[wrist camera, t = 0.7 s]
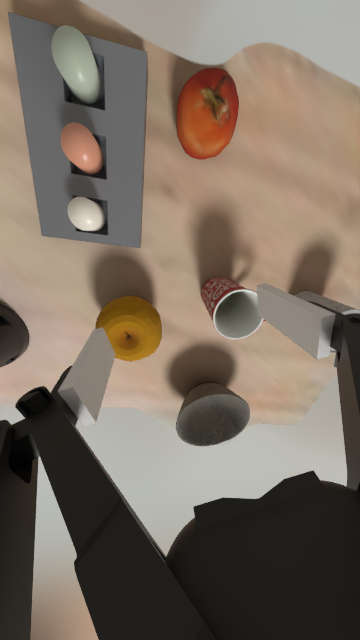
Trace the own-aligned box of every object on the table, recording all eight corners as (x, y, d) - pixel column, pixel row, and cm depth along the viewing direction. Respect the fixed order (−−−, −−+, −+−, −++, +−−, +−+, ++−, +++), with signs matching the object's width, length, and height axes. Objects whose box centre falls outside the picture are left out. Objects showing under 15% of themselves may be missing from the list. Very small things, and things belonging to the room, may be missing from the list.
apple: (146, 278, 40) (143, 294, 30) (170, 328, 46) (175, 355, 35) (92, 302, 41) (70, 326, 31) (122, 348, 46) (112, 381, 36)
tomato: (184, 174, 33) (192, 158, 26) (164, 105, 29) (167, 64, 22) (234, 153, 33) (256, 131, 26) (221, 81, 29) (242, 31, 22)
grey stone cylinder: (318, 285, 46) (371, 302, 34) (318, 318, 50) (366, 343, 39) (280, 298, 46) (320, 319, 35) (284, 331, 50) (320, 359, 39)
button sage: (68, 99, 26) (54, 77, 22) (64, 51, 24) (48, 19, 20) (102, 107, 26) (94, 87, 23) (101, 61, 25) (91, 32, 21)
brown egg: (74, 171, 29) (62, 162, 25) (71, 133, 27) (58, 118, 24) (104, 176, 30) (97, 168, 26) (103, 140, 28) (95, 126, 24)
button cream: (78, 228, 32) (69, 228, 29) (76, 198, 30) (65, 194, 27) (106, 232, 33) (99, 232, 29) (105, 203, 31) (98, 199, 27)
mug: (192, 307, 44) (206, 335, 32) (203, 268, 41) (223, 283, 28) (240, 316, 47) (271, 346, 34) (255, 280, 43) (294, 299, 31)
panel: (52, 235, 35) (42, 235, 32) (26, 39, 25) (7, 11, 22) (140, 246, 37) (139, 248, 34) (148, 72, 28) (147, 52, 25)
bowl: (175, 418, 59) (178, 452, 50) (170, 371, 51) (173, 401, 42) (233, 410, 61) (246, 441, 52) (237, 362, 53) (254, 389, 44)
